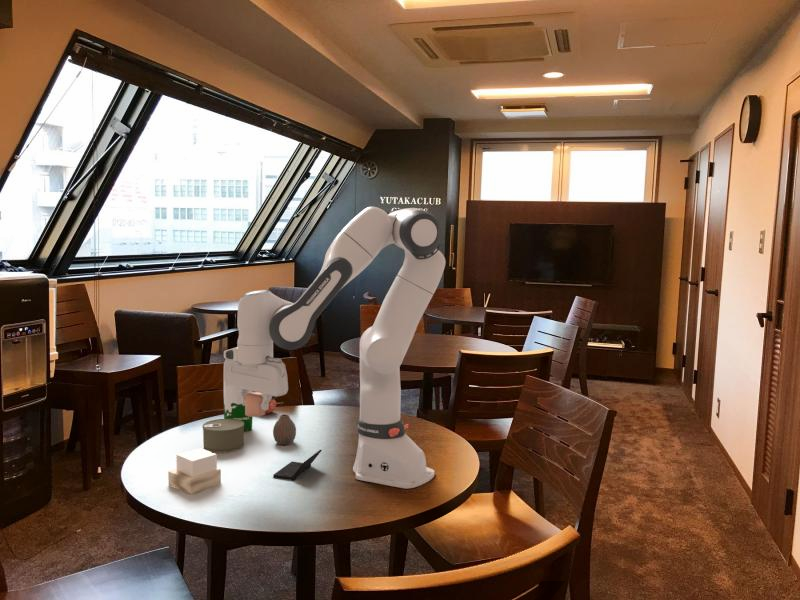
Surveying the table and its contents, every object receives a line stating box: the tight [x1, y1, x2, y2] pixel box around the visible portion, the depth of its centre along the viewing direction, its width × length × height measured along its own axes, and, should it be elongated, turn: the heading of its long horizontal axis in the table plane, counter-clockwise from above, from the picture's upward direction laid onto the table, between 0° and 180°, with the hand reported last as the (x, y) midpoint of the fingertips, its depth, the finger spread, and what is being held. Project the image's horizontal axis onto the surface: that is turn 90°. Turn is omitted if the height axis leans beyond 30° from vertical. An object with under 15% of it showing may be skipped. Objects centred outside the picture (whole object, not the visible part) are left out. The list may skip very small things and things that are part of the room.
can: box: [202, 418, 245, 454], centre depth 188 cm, size 12×12×7 cm
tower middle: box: [176, 447, 218, 477], centre depth 160 cm, size 7×7×4 cm
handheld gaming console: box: [272, 449, 322, 481], centre depth 169 cm, size 12×7×10 cm
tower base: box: [167, 467, 222, 495], centre depth 160 cm, size 9×9×4 cm
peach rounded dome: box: [245, 391, 266, 418], centre depth 161 cm, size 5×5×5 cm
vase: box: [272, 413, 297, 446], centre depth 192 cm, size 7×7×9 cm
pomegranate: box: [265, 396, 277, 415], centre depth 224 cm, size 7×7×10 cm
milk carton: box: [223, 373, 254, 432], centre depth 205 cm, size 9×9×20 cm
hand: (255, 407), depth 161 cm, fingers closed on peach rounded dome, 5 cm apart
